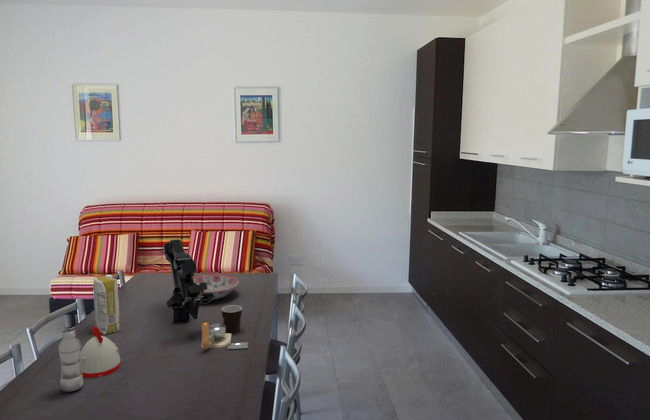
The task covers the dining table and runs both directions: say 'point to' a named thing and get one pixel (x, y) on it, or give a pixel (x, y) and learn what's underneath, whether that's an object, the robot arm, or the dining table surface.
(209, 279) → the ceramic bowl
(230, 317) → the coffee mug
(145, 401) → the dining table surface
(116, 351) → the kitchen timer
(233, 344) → the loose steel rod
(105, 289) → the juice carton
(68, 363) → the plastic bottle
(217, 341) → the square beige tile
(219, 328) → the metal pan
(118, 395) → the dining table surface
